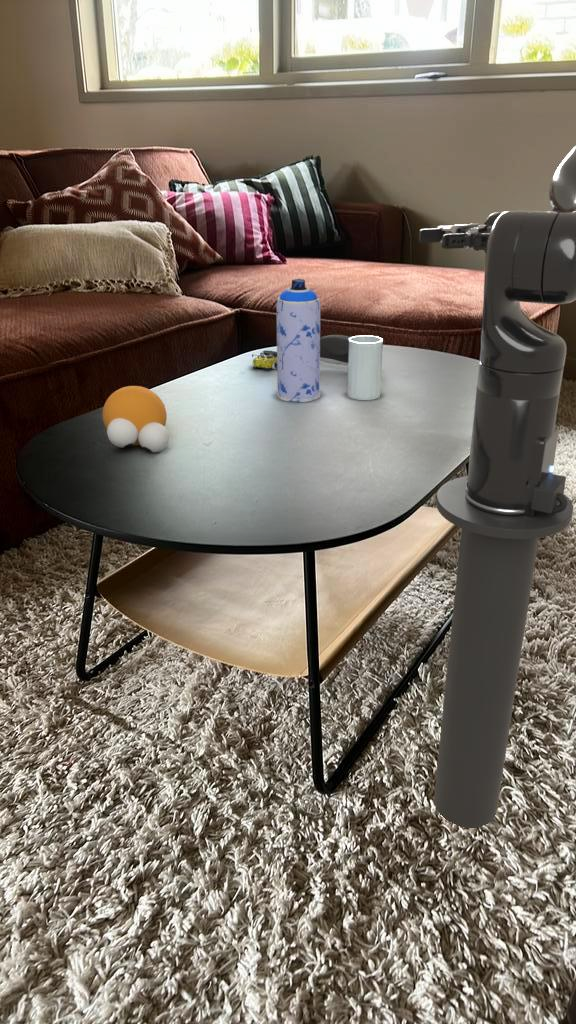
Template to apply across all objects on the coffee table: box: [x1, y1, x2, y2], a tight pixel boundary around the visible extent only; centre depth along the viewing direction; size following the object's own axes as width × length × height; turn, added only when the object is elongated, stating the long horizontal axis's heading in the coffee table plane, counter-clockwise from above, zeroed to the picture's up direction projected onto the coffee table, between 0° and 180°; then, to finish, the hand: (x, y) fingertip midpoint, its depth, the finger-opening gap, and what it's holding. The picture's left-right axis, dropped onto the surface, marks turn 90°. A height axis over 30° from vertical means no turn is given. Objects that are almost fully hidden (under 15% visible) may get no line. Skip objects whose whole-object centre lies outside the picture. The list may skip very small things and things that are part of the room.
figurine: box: [320, 334, 378, 366], centre depth 150 cm, size 7×10×15 cm
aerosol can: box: [275, 278, 322, 403], centre depth 132 cm, size 8×8×20 cm
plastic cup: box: [346, 335, 384, 401], centre depth 134 cm, size 6×6×10 cm
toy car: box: [251, 350, 277, 371], centre depth 155 cm, size 5×10×3 cm, turn 155°
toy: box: [102, 385, 170, 453], centre depth 114 cm, size 9×10×15 cm
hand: (431, 238), depth 127 cm, fingers open, 8 cm apart
